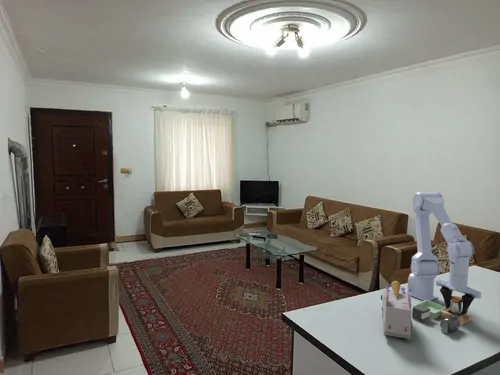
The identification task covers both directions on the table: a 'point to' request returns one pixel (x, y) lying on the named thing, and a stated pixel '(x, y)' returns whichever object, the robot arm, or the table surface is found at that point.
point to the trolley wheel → (449, 324)
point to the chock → (421, 313)
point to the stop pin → (456, 305)
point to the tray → (432, 308)
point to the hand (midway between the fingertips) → (456, 310)
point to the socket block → (462, 318)
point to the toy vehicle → (396, 312)
